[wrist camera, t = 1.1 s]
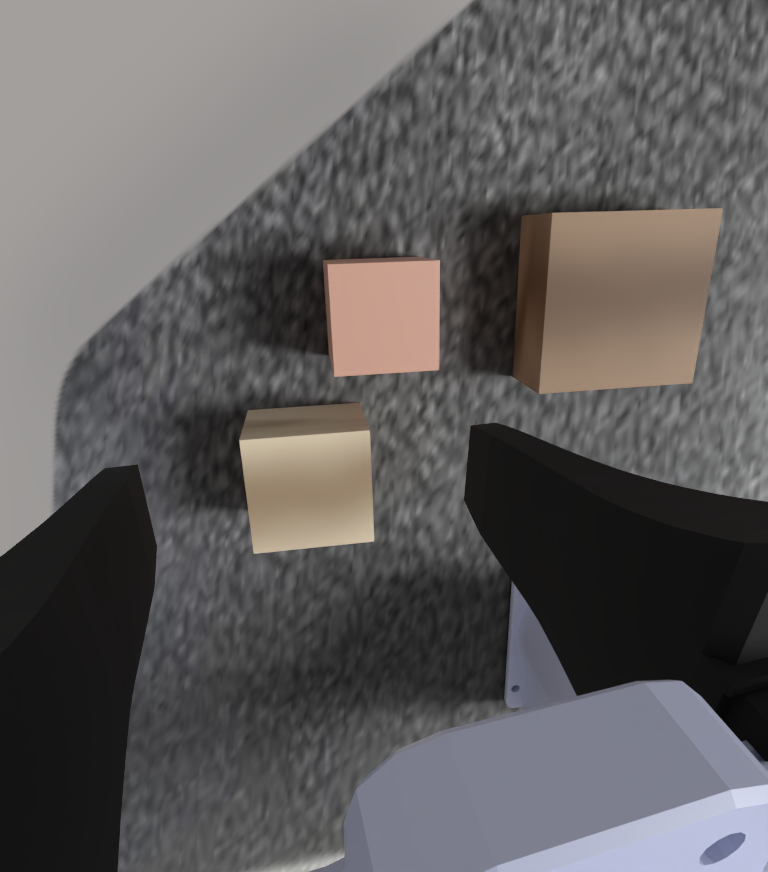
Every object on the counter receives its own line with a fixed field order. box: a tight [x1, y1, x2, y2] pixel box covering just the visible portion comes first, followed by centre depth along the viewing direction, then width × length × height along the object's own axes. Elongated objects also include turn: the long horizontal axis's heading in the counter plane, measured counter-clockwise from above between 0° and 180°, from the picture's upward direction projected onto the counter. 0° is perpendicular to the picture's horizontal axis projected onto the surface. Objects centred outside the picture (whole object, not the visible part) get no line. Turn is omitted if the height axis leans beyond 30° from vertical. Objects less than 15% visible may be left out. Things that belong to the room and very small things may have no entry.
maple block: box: [239, 402, 374, 554], centre depth 24 cm, size 5×5×4 cm
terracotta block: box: [323, 257, 440, 377], centre depth 22 cm, size 4×4×4 cm
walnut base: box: [513, 208, 723, 394], centre depth 23 cm, size 7×7×3 cm
